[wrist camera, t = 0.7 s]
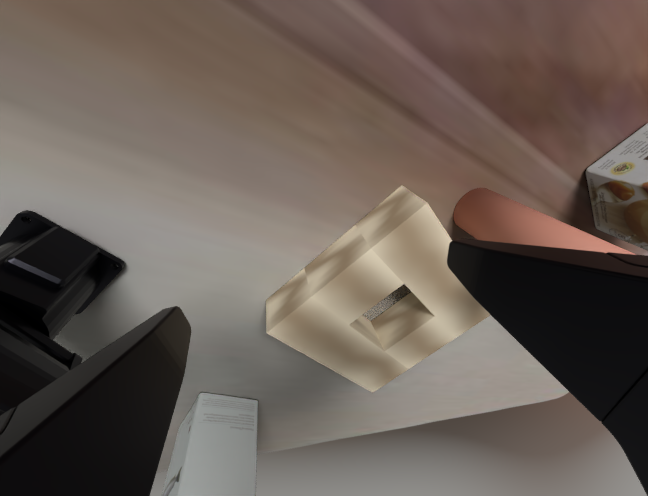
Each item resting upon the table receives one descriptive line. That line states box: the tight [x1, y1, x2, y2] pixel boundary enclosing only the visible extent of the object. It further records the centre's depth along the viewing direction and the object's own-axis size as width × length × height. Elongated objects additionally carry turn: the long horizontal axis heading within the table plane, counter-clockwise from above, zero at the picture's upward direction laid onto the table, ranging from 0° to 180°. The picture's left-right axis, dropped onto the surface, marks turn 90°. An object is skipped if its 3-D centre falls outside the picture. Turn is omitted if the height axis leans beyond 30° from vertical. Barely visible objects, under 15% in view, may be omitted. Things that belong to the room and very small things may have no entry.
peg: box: [453, 188, 636, 255], centre depth 18 cm, size 4×4×14 cm
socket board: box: [266, 186, 490, 393], centre depth 26 cm, size 16×16×4 cm
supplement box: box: [162, 393, 258, 496], centre depth 27 cm, size 7×7×13 cm
